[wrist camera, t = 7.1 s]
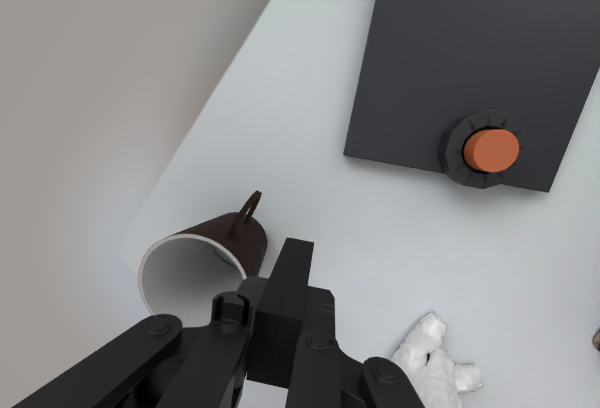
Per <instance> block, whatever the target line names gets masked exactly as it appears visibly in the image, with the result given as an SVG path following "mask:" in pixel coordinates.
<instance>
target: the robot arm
mask: <svg viewBox="0 0 600 408" xmlns="http://www.w3.org/2000/svg"><path fill="white" fill-rule="evenodd" d="M313 247H314V242H309V241H303V240H298V239H293V238H286V241H285V243H284V245H283V248H282V250H281V252H280V255H279V257H278V259H277V262H276V264H275V266H274V269H273V271H272V273H271V276H270V278H269V279H266V278H261V277H256V276H249V277H248V278H246V279H244V280H243V281H242V282H241V284H240V286H239V288H238V289H237V291H226V292H222V293H220V294H217V295H216V296H215V297H214V298H213V300H212V311H211V321H210V323H209V324H208V325H205V326H200V327H183V324H182V321H181V319H180V318H178V317H177V316H175V315H171V314H157V315H153V316H150V317H147V318H145V319H143V320H142V321H140V322H139V323H137V324H136V325H134V326H133V327H131V328H130V329H128V330H127V331H125V332H124V333H122V334H121V335H119V336H118V337H116V338H115V339H113V340H112V341H110V342H109V343H107V344H106V345H104V346H103V347H101V348H100V349H99V350H97V351H95V352H94V353H92V354H91V355H89V356H88V357H87V358H85V359H83V360H82V361H81V362H79V363H77V364H76V365H74V366H73V367H71V368H70V369H68V370H67V371H65V372H64V373H62V374H61V375H59V376H58V377H56V378H55V379H54V380H52V381H51V382H49V383H47V384H46V385H45V386H43V387H42V388H40V389H38V390H37V391H36V392H34V393H33V394H31V395H30V396H28V397H27V398H25V399H24V400H22V401H21V402H19V403H18V404H16V405H15V406H13V407H12V408H237V407H238V404H239V401H240V398H241V395H242V390H243V382H244V379H245V376H246V373H247V378H246V379H247V380H251V381H255V382H260V383H264V384H268V385H273V386H278V387H282V388H286V389H288V395H287V400H286V406H285V408H425V406H424V405H423V403H422V401H421V399H420V398H419V396H418V394H417V392H416V391H415V389H414V387H413V385H412V384H411V382H410V380H409V378H408V377H407V375H406V374H405V373H404V371H403V370H402V369H401V368H400V367H399V366H398V365H396V364H395V363H394V362H392V361H390V360H388V359H385V358H381V357H371V358H368V359H367V360H366V361H364V364H362V363H360V362H358V361H356V360H354V359H352V358H350V357H349V356H347V355H346V354H345V353H344V352H342V350H341V349H340V348H339V345H338V342H337V340H336V338H335V307H334V306H335V299H334V296H333V295H332V293H331V292H330V290H326V289H321V288H316V287H311V286H308V279H309V273H310V266H311V260H312V253H313Z"/></svg>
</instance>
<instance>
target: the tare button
mask: <svg viewBox="0 0 600 408" xmlns="http://www.w3.org/2000/svg"><path fill="white" fill-rule="evenodd" d="M518 153H519V144H518V141H517V139H516V137H515V136H514V135H513V134H512V133H510V132H509V131H506V130H483V131H480V132H477V133H475V134H474V135H473V136H471V137H470V138H469V140H468V141H467V143H466V145H465V147H464V158H465V160H466V162H467V164H468V165H469V166H471V167H472V168H474V169H478V170H482V171H486V172H499V171H502V170H505V169H506V168H508V167H509V166H511V165H512V164H513V162H514V161H515V160H516V158H517V156H518Z"/></svg>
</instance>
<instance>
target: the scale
mask: <svg viewBox="0 0 600 408" xmlns="http://www.w3.org/2000/svg"><path fill="white" fill-rule="evenodd" d="M599 67H600V0H376V1H375V5H374V10H373V15H372V20H371V24H370V29H369V34H368V39H367V44H366V48H365V53H364V58H363V63H362V67H361V72H360V77H359V82H358V86H357V91H356V96H355V101H354V106H353V110H352V115H351V120H350V125H349V129H348V134H347V139H346V144H345V148H344V153H343V154H344V155H346V156H351V157H357V158H362V159H368V160H373V161H378V162H384V163H389V164H395V165H400V166H406V167H411V168H417V169H422V170H427V171H433V172H438V173H444V174H447V175H448V176H449V177H450V178H451V179H453V180H454V181H455V182H457V183H459V184H462V185H465V186H470V187H476V188H481V189H485V188H489V187H492V186H495V185H498V184H504V185H509V186H515V187H520V188H525V189H531V190H536V191H542V192H547V193H549V191H550V188H551V186H552V183H553V181H554V178H555V176H556V173H557V171H558V168H559V166H560V163H561V161H562V159H563V156H564V154H565V151H566V149H567V146H568V144H569V141H570V139H571V136H572V134H573V131H574V129H575V127H576V124H577V122H578V119H579V117H580V114H581V112H582V109H583V107H584V104H585V102H586V99H587V97H588V95H589V92H590V90H591V87H592V85H593V82H594V80H595V77H596V75H597V72H598V70H599ZM483 130H506V131H509V132H510V133H512V134H513V135H514V136H515V137H516V139H517V141H518V144H519V153H518V156H517V158H516V160H515V161H514V162H513V164H512V165H511V166H509V167H508V168H506V169H505V170H502V171H499V172H486V171H482V170H478V169H474V168H472V167H471V166H469V165H468V164H467V162H466V160H465V158H464V147H465V145H466V143H467V141H468V140H469V138H470V137H471V136H473V135H474V134H475V133H477V132H480V131H483Z"/></svg>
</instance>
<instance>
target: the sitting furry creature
mask: <svg viewBox="0 0 600 408" xmlns="http://www.w3.org/2000/svg"><path fill="white" fill-rule="evenodd" d="M446 330H447V324H446V322H445V321H444V319H443V318H442V317H441V316H440V315H439V314H436V313H435V312H432V313H429V314H427V315H426V316H425V317H424V318H422V319H420V318H419V324H417V325H415V328H414V329H413V330H412V331H411V333H410V334H409V335H407V336H406V339H405V341H404V342H402V343H401V344H400V348H399V349H398V350H397V351H396V352H395V353H394V354H393V356H392V358H391V359H390V361H392V362H394V363H395V364H396V365H398V366H399V367H400V368H401V369H402V370H403V371H404V373H405V374H406V375H407V377H408V378H409V380H410V382H411V384H412V385H413V387H414V389H415V391H416V392H417V394H418V396H419V398H420V399H421V401H422V403H423V405H424V406H425V408H463V401H462V399H461V398H460V397H459V395H458V394H466V393H467V392H474V391H475V389H479V388H480V387H483V384H482V382H481V381H482V378H481V375H480V372H479V370H478V368H477V367H476V366H475V365H469V364H464V365H460V364H458V365H457V364H456V363H455V362H454V361H453V360H452V359H451V358H450V356H449V355H448V354H447V352H446V351H445V350H443V348H442V346H441V344H442V339H443V338H444V334H445V332H446ZM428 353H429V354H430V359H429V360H428V357H427V354H428Z"/></svg>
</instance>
